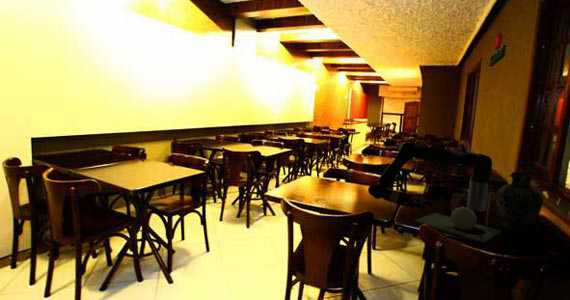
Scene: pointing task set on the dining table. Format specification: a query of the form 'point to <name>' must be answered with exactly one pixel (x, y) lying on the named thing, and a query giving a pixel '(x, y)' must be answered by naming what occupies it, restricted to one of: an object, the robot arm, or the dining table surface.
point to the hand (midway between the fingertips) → (428, 205)
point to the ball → (463, 218)
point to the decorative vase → (519, 202)
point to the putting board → (446, 225)
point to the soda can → (458, 201)
